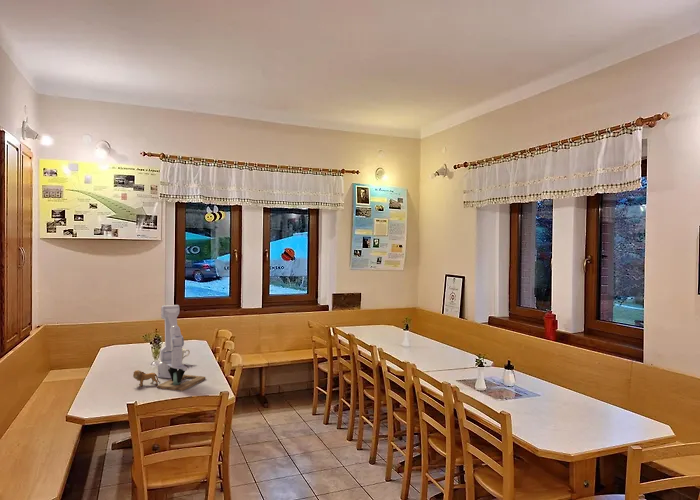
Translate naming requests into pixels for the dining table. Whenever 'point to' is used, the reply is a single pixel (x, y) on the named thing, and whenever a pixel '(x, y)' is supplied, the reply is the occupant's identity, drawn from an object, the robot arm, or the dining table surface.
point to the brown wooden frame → (184, 385)
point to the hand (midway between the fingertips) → (176, 381)
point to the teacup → (184, 352)
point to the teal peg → (175, 379)
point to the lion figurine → (145, 377)
